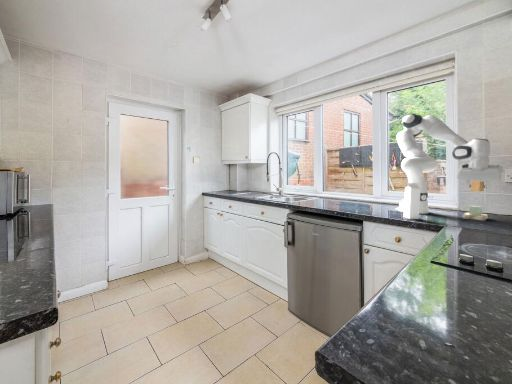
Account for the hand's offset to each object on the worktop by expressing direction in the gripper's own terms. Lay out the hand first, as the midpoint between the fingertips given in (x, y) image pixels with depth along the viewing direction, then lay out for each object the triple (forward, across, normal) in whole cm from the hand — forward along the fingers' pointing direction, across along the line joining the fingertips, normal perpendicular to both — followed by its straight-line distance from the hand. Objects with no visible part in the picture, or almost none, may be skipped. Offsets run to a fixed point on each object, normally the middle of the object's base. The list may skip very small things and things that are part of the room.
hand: (477, 187), depth 152 cm
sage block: (+16, 0, 0) cm, 17 cm away
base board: (+19, 0, 0) cm, 19 cm away
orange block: (+2, 0, 0) cm, 2 cm away
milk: (+19, +25, +30) cm, 44 cm away
